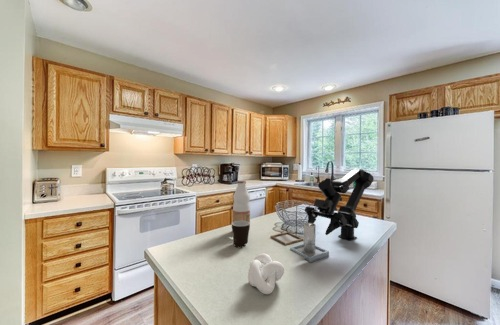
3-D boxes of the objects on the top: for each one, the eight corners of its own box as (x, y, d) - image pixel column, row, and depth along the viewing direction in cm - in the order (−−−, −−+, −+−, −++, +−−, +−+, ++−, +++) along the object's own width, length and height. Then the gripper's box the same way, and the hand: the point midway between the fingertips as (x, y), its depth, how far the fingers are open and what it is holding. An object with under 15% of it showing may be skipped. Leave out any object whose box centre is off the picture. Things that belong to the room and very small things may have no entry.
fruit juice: (234, 235, 114) (234, 182, 113) (231, 229, 123) (231, 180, 123) (251, 233, 116) (251, 181, 115) (248, 228, 125) (248, 179, 125)
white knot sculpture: (279, 274, 76) (279, 249, 76) (289, 296, 64) (289, 267, 64) (246, 277, 75) (247, 251, 75) (251, 299, 63) (251, 269, 63)
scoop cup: (305, 249, 96) (305, 222, 95) (316, 251, 93) (316, 223, 93) (302, 253, 92) (302, 224, 91) (313, 256, 89) (314, 226, 89)
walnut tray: (287, 235, 114) (287, 231, 114) (303, 242, 104) (303, 238, 104) (270, 239, 108) (270, 235, 108) (285, 247, 98) (285, 243, 98)
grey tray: (308, 246, 100) (308, 242, 100) (328, 255, 91) (328, 251, 91) (290, 252, 94) (290, 247, 94) (309, 262, 85) (310, 257, 85)
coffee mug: (247, 249, 97) (247, 226, 97) (229, 247, 99) (229, 225, 99) (252, 239, 108) (252, 219, 108) (235, 238, 110) (235, 218, 110)
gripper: (306, 189, 105) (291, 216, 99) (343, 195, 90) (328, 227, 84) (316, 203, 110) (302, 229, 104) (352, 210, 96) (339, 241, 89)
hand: (316, 231), depth 95 cm, fingers open, 9 cm apart
